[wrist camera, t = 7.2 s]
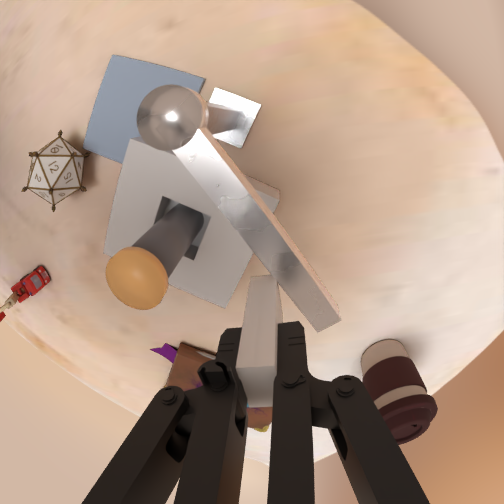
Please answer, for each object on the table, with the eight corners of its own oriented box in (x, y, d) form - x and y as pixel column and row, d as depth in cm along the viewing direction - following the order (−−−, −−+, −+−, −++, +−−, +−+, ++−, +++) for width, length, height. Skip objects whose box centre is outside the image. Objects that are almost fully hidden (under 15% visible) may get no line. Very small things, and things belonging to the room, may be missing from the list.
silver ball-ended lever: (304, 322, 18) (305, 338, 17) (138, 115, 13) (124, 116, 12) (348, 298, 17) (353, 313, 15) (183, 75, 12) (173, 70, 11)
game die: (84, 169, 35) (25, 204, 29) (72, 116, 28) (5, 150, 23) (111, 194, 31) (42, 237, 26) (99, 130, 25) (16, 174, 19)
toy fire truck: (53, 279, 39) (19, 312, 31) (22, 297, 43) (-6, 325, 34) (43, 262, 38) (7, 293, 29) (13, 283, 41) (-16, 310, 33)
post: (198, 130, 28) (125, 145, 14) (216, 87, 26) (156, 61, 12) (241, 148, 29) (205, 177, 15) (261, 105, 27) (243, 89, 13)
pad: (85, 147, 30) (82, 148, 29) (114, 55, 24) (112, 54, 24) (166, 179, 31) (164, 180, 30) (205, 79, 26) (204, 78, 25)
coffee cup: (353, 380, 43) (366, 457, 29) (350, 340, 39) (369, 428, 25) (408, 366, 41) (432, 438, 27) (412, 324, 37) (448, 403, 23)
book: (157, 322, 42) (146, 343, 38) (301, 373, 44) (303, 396, 40) (143, 381, 48) (134, 400, 44) (262, 421, 51) (261, 441, 46)
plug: (161, 228, 32) (102, 292, 20) (174, 191, 30) (110, 241, 18) (198, 245, 33) (155, 319, 21) (213, 209, 31) (171, 271, 19)
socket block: (118, 239, 35) (103, 253, 31) (146, 135, 29) (130, 138, 25) (230, 289, 36) (225, 308, 33) (279, 190, 30) (279, 200, 27)
